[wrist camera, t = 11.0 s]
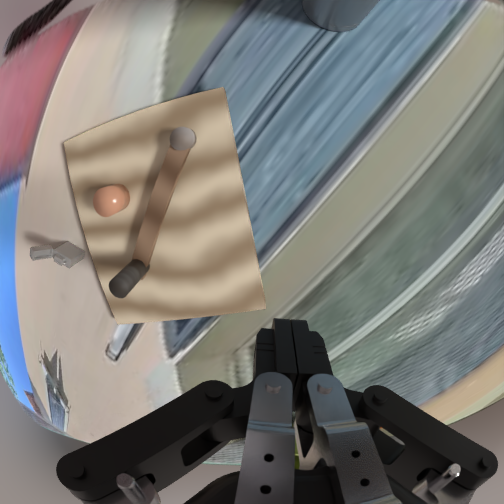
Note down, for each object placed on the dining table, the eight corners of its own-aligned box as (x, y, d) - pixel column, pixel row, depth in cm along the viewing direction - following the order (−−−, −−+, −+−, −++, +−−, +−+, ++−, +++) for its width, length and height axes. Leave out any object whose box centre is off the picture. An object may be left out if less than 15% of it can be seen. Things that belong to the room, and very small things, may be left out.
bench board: (70, 142, 36) (63, 142, 34) (225, 90, 34) (223, 87, 32) (121, 318, 47) (117, 324, 45) (265, 302, 44) (265, 308, 42)
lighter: (84, 251, 42) (58, 268, 35) (83, 259, 43) (57, 278, 35) (56, 233, 42) (28, 248, 34) (54, 241, 42) (27, 257, 35)
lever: (179, 124, 33) (158, 118, 26) (200, 132, 34) (184, 127, 26) (130, 268, 40) (106, 292, 33) (147, 276, 40) (126, 302, 33)
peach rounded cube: (104, 187, 37) (90, 191, 33) (126, 180, 36) (113, 184, 33) (110, 213, 38) (97, 219, 34) (132, 207, 38) (120, 213, 34)
